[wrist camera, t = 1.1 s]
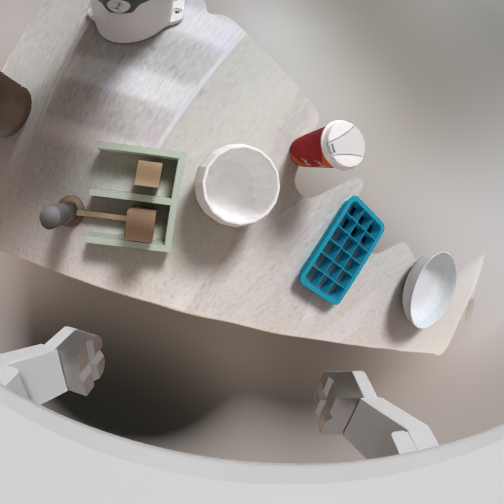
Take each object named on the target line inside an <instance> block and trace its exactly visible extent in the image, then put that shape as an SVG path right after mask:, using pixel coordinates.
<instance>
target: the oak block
mask: <svg viewBox="0 0 504 504" xmlns="http://www.w3.org/2000/svg"><path fill="white" fill-rule="evenodd" d="M162 166H163V163H157V162H150V161H142V160H139V161H138V166H137V171H136V177H135V183H134V185H141V186H148V187H156V188H159V183H160V177H161V172H162Z"/></svg>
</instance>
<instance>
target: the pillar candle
mask: <svg viewBox="0 0 504 504" xmlns="http://www.w3.org/2000/svg"><path fill="white" fill-rule="evenodd" d="M30 109H31V96H30V93H29V92H28V90H27V89H26V88H24V87H21V85H20V84H18V83H16V82H15V81H13V80H12V79H10V78H9V77H8V76H6V75H5V74H3V73H2V72H0V136H10V135H12V134H14V133H15V132H17V131H18V130H19V129H20V128H21V127H22V126H23V124H24V123H25V121H26V119H27V117H28V115H29V112H30Z"/></svg>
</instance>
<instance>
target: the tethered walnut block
mask: <svg viewBox="0 0 504 504" xmlns="http://www.w3.org/2000/svg"><path fill="white" fill-rule="evenodd" d="M156 212H157V209H154V208H146V207H138V206H132V207H131V208H130V209H128V210H127V215H119V214H111V213H102V212H94V211H85V210H84V206H83V203H82V201H81V200H80V199H79V198H77V197H75V196H66V197H64V198H63V199H61V201H60V202H59V203H58V204H53V205H48V206H45V207H44V208H43V209H42V211H41V213H40V222H41V224H42V226H43V227H44V228H46V229H53V228H56V227H58V226H60V225H65V226H74V225H76V224H78V223H79V222H80V221H81V220H82V218H83V216H89V217H97V218H106V219H114V220H122V221H126V225H125V234H124V240H132V241H140V242H148V243H152V241H153V233H154V226H155V218H156Z"/></svg>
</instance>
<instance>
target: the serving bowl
mask: <svg viewBox="0 0 504 504" xmlns="http://www.w3.org/2000/svg"><path fill="white" fill-rule="evenodd" d="M456 278H457V270H456V264H455V261H454V258H453V257H452V255H451V254H449V253H448V252H445V251H433V252H430V253H428V254H426V255H424V256H423V257H421V258H420V259H419V260H418V261H417V262H416V263H415V265H414V266H413V267H412V269H411V271H410V273H409V274H408V277H407V279H406V282H405V285H404V290H403V309H404V312H405V315H406V317H407V318H408V320H409V321H410V322H411V323H412V324H413V325H414V326H415V327H416V328H418V329H426V328H428V327H430V326H432V325H433V324H434V323H436V322H437V321H438V320H439V319H440V317H441V316H442V315H443V314H444V312H445V311H446V309H447V307H448V305H449V303H450V301H451V299H452V296H453V293H454V290H455V285H456Z"/></svg>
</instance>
